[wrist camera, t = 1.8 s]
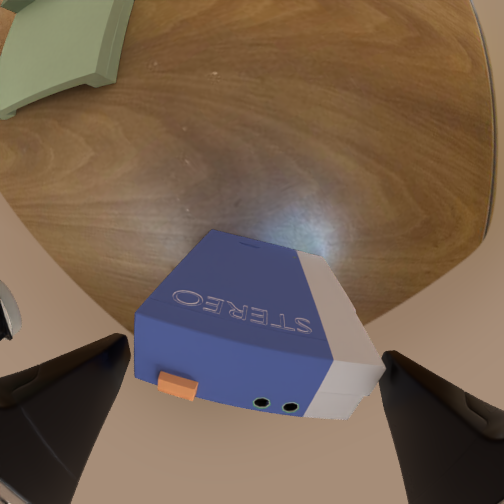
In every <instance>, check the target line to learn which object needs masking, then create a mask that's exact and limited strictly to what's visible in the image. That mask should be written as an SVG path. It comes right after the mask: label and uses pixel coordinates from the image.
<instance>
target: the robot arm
mask: <svg viewBox="0 0 504 504" xmlns="http://www.w3.org/2000/svg"><path fill="white" fill-rule="evenodd" d="M3 338H6V339H8V340H11V339H12V335H11V332H10V329H9V326H8V324H7V321H6V317H5V314H4V311H3V308H2V304H1V301H0V341H1V340H2V339H3ZM130 357H131V353H130V348H129V344H128V339H127V337H126V335H123V334H119V333H114V334H112V335H109V336H107V337H105V338H102V339H100V340H98V341H95V342H93V343H90V344H88V345H86V346H83V347H81V348H78V349H76V350H73V351H71V352H69V353H66V354H64V355H61V356H59V357H56V358H54V359H52V360H49V361H46V362H44V363H42V364H40V365H37V366H34V367H31V368H29V369H26V370H23V371H20V372H17V373H14V374H11V375H7V376H4V377H1V378H0V504H71V501H72V498H73V496H74V493H75V490H76V487H77V485H78V482H79V480H80V477H81V475H82V472H83V470H84V467H85V465H86V463H87V460H88V458H89V455H90V453H91V451H92V448H93V446H94V443H95V441H96V439H97V437H98V435H99V433H100V430H101V428H102V426H103V424H104V422H105V419H106V417H107V415H108V413H109V411H110V409H111V407H112V405H113V403H114V400H115V398H116V396H117V394H118V392H119V389H120V387H121V384H122V381H123V378H124V375H125V372H126V369H127V367H128V364H129V361H130ZM381 359H382V361H383V363H384V365H385V367H386V370H385V372H384V373H383V375H382V376H381V378H380V380H379V386H380V391H381V396H382V402H383V407H384V411H385V414H386V417H387V420H388V424H389V428H390V431H391V434H392V438H393V441H394V445H395V449H396V452H397V456H398V460H399V464H400V468H401V472H402V476H403V481H404V485H405V489H406V494H407V499H408V504H504V411H503V410H501V409H499V408H496V407H494V406H492V405H490V404H488V403H486V402H483V401H482V400H480V399H478V398H476V397H474V396H473V395H470V394H469V393H467V392H464V391H463V390H462V389H460V388H459V387H457V386H455V385H453V384H452V383H450V382H448V381H446V380H445V379H443V378H441V377H440V376H438V375H436V374H434V373H433V372H431V371H429V370H428V369H426V368H424V367H423V366H421V365H419V364H417V363H416V362H414V361H412V360H411V359H409V358H407V357H405V356H404V355H402V354H400V353H399V352H397V351H395V350H393V351H385V352H384V353H383V356H382V358H381Z"/></svg>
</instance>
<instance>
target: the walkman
mask: <svg viewBox="0 0 504 504" xmlns="http://www.w3.org/2000/svg"><path fill="white" fill-rule="evenodd" d="M355 312H356V309H355V308H354V306H353V304H352V303H351V301H350V299H349V298H348V296H347V295H346V293H345V291H344V290H343V288H342V286H341V285H340V283H339V282H338V280H337V278H336V277H335V275H334V274H333V272H332V270H331V269H330V267H329V266H328V264H327V263H326V261H325V259H324V258H323V257H321V256H317V255H314V254H310V253H306V252H302V251H298V250H294V249H290V248H286V247H282V246H278V245H274V244H270V243H266V242H262V241H258V240H254V239H250V238H246V237H242V236H237V235H233V234H229V233H225V232H221V231H217V230H213V229H212V230H210V232H209V233H208V234H207V235H206V236H205V237H204V238H203V239H202V240H201V241H200V242H199V243H198V244H197V245H196V246H195V247H194V248H193V249H192V250H191V251H190V252H189V254H188V255H187V256H186V257H185V258H184V259H183V260H182V261H181V262H180V263H179V264H178V265H177V266H176V267H175V269H174V270H173V271H172V272H171V273H170V274H169V275H168V276H167V277H166V278H165V279H164V281H163V282H162V283H161V284H160V285H159V286H158V287H157V288H156V289H155V290H154V292H153V293H152V294H151V295H150V296H149V297H148V298H147V299H146V301H145V302H144V303H143V304H142V305H141V306H140V307H139V308H138V310H137V311H136V312H135V321H134V372H135V373H134V374H135V378H138V379H140V380H143V381H146V382H149V383H152V384H155V385H158V391H161V392H164V393H167V394H170V395H173V396H177V397H180V398H184V399H187V400H191V401H193V400H194V397H198V398H202V399H206V400H210V401H214V402H218V403H222V404H227V405H232V406H237V407H241V408H246V409H251V410H257V411H263V412H269V413H276V414H283V415H290V416H299V417H314V418H325V419H326V418H327V419H343V420H347V419H349V417H350V416H351V414H352V413H353V411H354V410H355V409H356V407H357V406H358V404H359V403H360V401H361V400H362V398H363V397H364V396H369V395H370V394H371V392H372V391H373V389H374V387H375V386H376V384H377V383H378V381H379V380H380V378H381V376H382V375H383V373H384V372H385V370H386V367H385V365H384V363H383V361H382V359H381V358H380V356H379V354H378V352H377V350H376V348H375V347H374V345H373V343H372V341H371V339H370V337H369V336H368V334H367V332H366V330H365V329H364V327H363V325H362V323H361V322H360V320H359V318H358V316H357V315H356V313H355Z"/></svg>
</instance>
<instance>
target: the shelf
mask: <svg viewBox="0 0 504 504" xmlns="http://www.w3.org/2000/svg"><path fill="white" fill-rule="evenodd" d="M133 3H134V0H3V2H2V4H1V7H2V8H5V9H7V10H10V11H12V12H15V13H17V14H16V16H15V18H14V21H13V23H12V26H11V28H10V31H9V33H8V36H7V39H6V41H5V44H4V47H3V50H2V53H1V57H0V119H3V120H7V119H9V118H11V117H13V116H15V115H16V110H17V109H18V108H20V107H22V106H25V105H27V104H29V103H31V102H34V101H36V100H39V99H41V98H44V97H46V96H49V95H52V94H54V93H57V92H60V91H63V90H66V89H69V88H72V87H75V86H78V85H81V84H88V85H90V86H93V87H95V88H96V87H100V86H104V85H108V84H113V83H116V77H117V71H118V66H119V60H120V55H121V50H122V45H123V41H124V36H125V32H126V28H127V24H128V20H129V17H130V13H131V10H132V6H133Z"/></svg>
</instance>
